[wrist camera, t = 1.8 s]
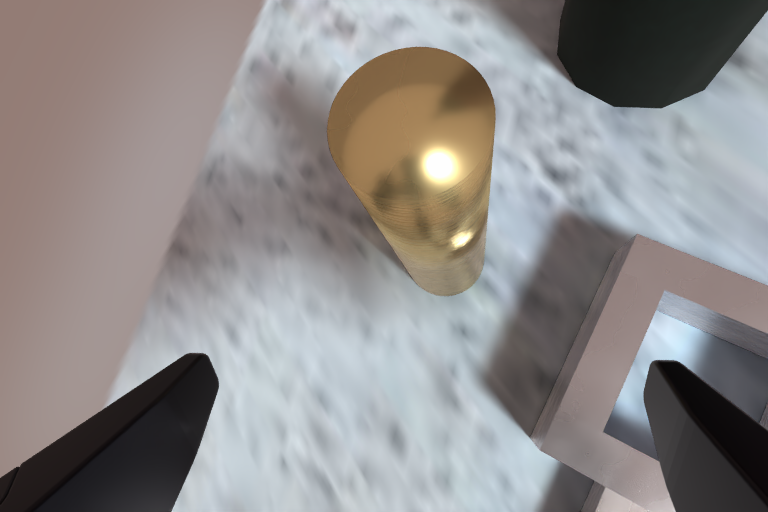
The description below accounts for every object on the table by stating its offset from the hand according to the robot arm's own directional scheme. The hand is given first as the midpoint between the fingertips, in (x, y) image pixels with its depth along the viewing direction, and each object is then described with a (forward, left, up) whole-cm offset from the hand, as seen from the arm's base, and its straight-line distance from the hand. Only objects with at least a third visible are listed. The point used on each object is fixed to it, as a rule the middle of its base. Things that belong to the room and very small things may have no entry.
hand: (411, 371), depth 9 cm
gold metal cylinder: (+5, +2, -12) cm, 13 cm away
